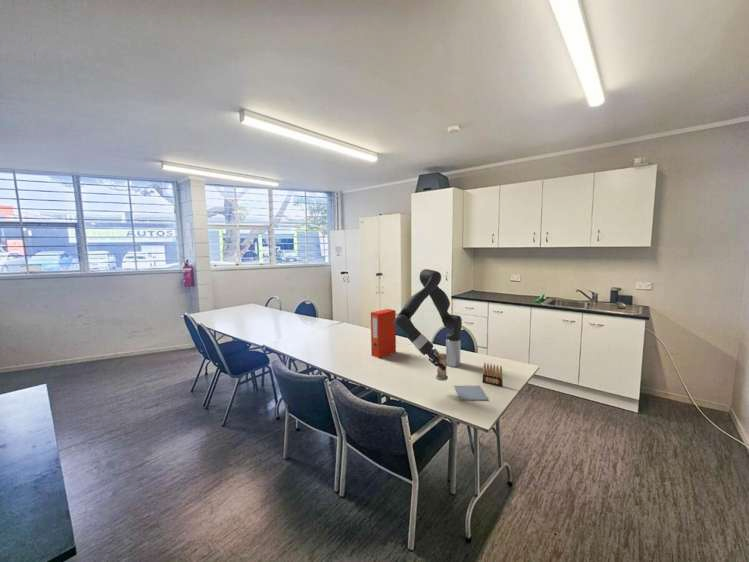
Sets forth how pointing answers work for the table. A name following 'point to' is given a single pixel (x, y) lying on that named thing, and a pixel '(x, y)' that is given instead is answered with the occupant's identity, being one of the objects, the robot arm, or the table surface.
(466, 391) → the slate mat
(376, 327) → the file binder
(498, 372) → the ammunition clip
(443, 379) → the tan ribbed cylinder
